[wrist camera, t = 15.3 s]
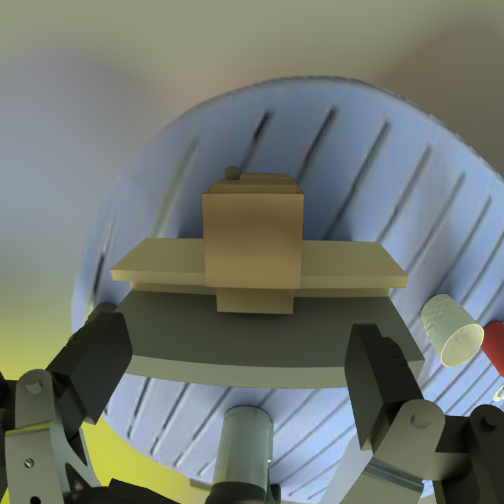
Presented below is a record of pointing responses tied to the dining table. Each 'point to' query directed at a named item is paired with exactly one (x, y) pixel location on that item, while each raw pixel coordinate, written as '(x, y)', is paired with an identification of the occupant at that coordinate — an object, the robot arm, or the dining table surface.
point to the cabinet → (253, 241)
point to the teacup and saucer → (497, 393)
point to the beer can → (494, 344)
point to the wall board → (257, 317)
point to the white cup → (451, 330)
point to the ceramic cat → (273, 493)
